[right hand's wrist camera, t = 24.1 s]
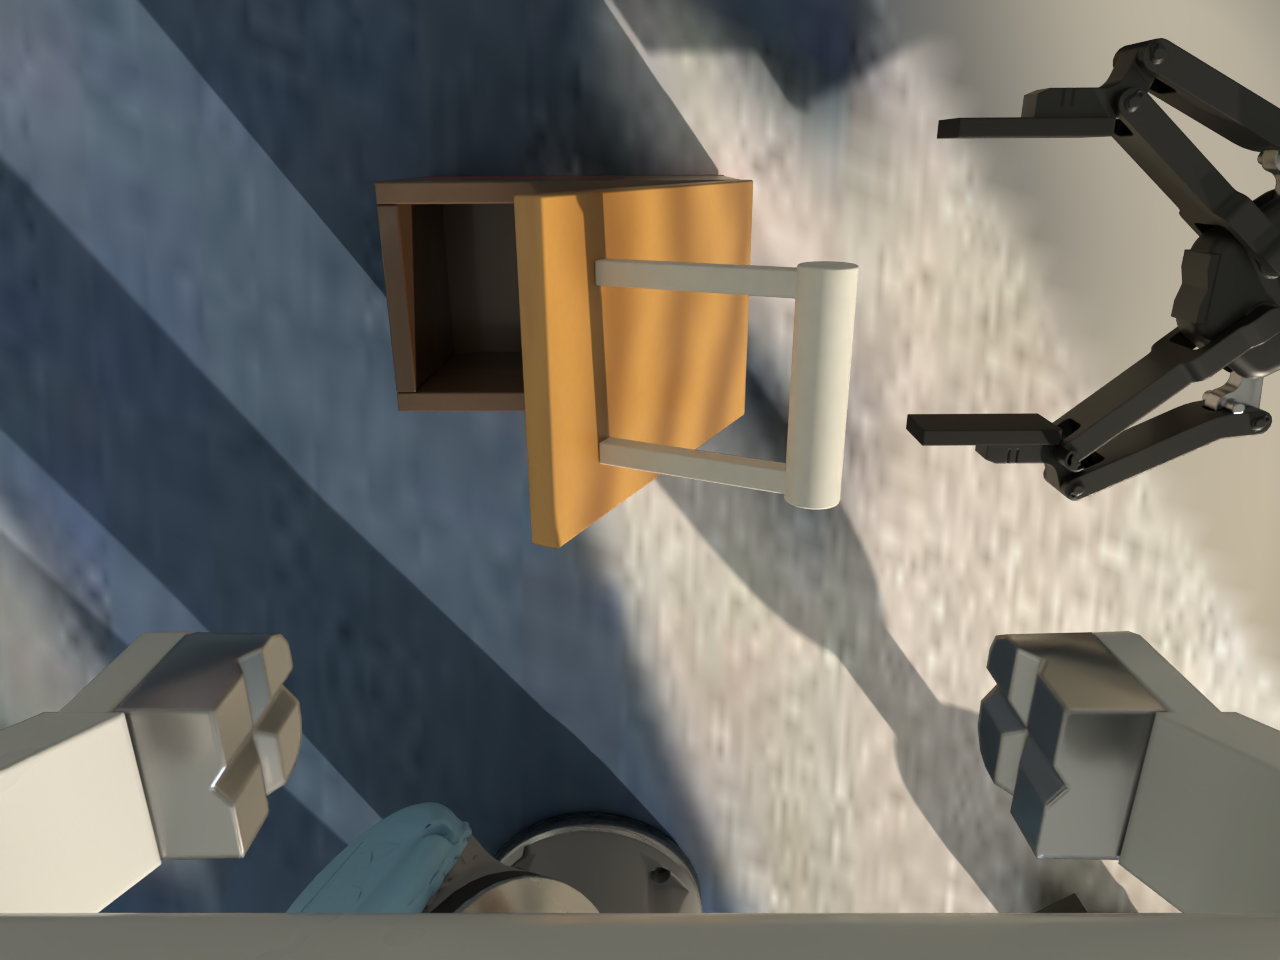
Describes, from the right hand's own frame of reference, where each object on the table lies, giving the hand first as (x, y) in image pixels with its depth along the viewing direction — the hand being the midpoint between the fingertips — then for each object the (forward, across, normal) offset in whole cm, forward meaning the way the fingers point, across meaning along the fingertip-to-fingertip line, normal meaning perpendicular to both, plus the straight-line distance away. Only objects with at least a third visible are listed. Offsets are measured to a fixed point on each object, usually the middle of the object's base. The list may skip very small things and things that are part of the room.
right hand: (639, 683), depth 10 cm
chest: (+38, -3, 0) cm, 38 cm away
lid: (+22, 0, 0) cm, 22 cm away
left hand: (+32, +13, 0) cm, 34 cm away
